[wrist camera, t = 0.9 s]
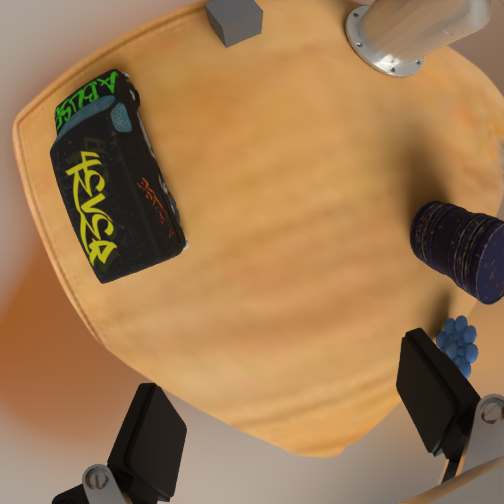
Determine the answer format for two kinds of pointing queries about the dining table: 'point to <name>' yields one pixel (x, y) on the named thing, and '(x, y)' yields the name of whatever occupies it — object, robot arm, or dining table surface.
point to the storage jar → (462, 248)
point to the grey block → (234, 19)
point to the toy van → (113, 180)
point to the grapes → (458, 343)
